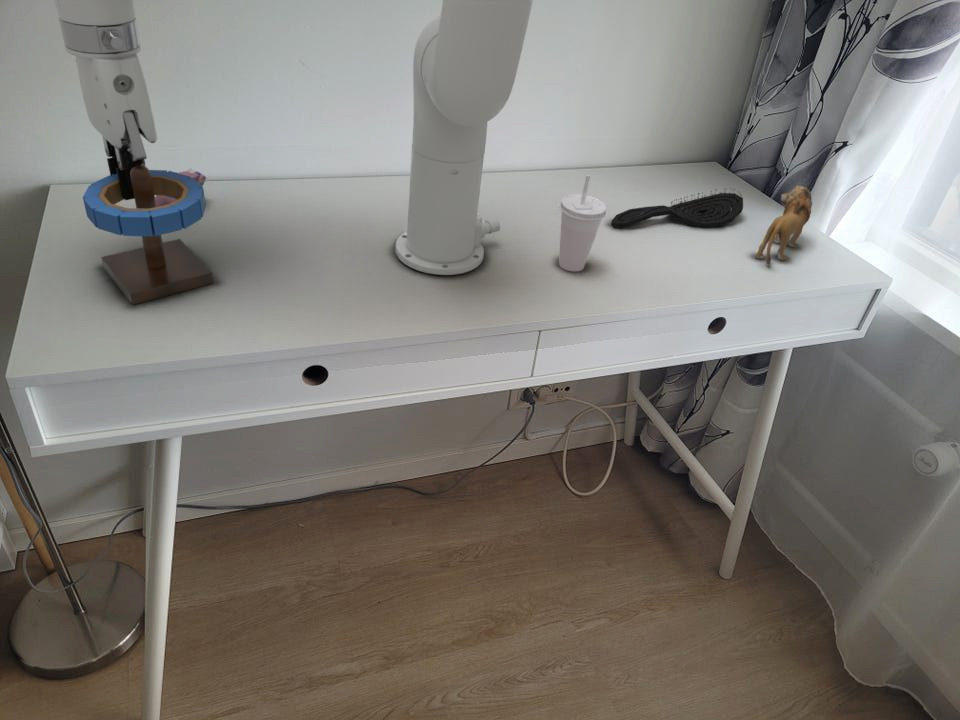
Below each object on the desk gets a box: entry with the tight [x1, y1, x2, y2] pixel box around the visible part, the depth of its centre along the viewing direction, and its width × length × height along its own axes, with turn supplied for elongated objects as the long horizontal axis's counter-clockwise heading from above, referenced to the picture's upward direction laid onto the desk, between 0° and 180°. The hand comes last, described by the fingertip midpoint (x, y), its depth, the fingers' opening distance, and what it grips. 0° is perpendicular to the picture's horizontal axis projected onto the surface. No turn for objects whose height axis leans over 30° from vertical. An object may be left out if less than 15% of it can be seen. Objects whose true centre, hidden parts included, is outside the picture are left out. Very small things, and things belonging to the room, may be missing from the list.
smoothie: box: [558, 174, 607, 272], centre depth 104 cm, size 6×6×14 cm
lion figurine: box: [754, 185, 813, 265], centre depth 117 cm, size 15×5×9 cm, turn 151°
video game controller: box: [155, 167, 207, 207], centre depth 107 cm, size 10×5×7 cm, turn 168°
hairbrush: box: [610, 187, 744, 229], centre depth 123 cm, size 8×4×25 cm
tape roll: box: [82, 169, 206, 237], centre depth 89 cm, size 13×13×2 cm
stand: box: [101, 165, 214, 306], centre depth 90 cm, size 10×10×15 cm
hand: (131, 191), depth 92 cm, fingers closed on tape roll, 2 cm apart
